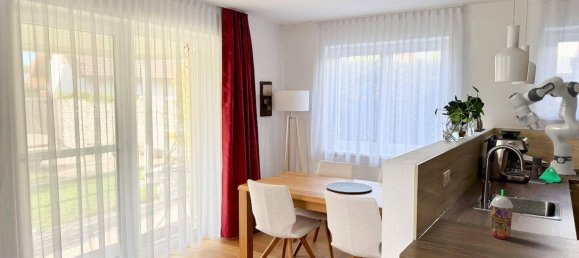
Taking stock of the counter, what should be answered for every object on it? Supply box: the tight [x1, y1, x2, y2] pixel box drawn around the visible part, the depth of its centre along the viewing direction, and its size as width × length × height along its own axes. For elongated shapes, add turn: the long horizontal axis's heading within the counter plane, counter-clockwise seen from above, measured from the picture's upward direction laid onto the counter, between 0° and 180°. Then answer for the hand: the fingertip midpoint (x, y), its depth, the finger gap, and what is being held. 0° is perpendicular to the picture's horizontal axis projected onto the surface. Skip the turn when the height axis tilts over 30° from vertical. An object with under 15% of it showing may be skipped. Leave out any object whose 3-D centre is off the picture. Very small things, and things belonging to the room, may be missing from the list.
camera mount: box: [539, 166, 562, 184], centre depth 273 cm, size 12×8×10 cm, turn 48°
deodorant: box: [531, 156, 543, 178], centre depth 287 cm, size 6×6×15 cm
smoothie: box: [490, 189, 514, 240], centre depth 161 cm, size 8×8×20 cm
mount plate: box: [528, 177, 549, 185], centre depth 270 cm, size 10×10×2 cm
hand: (535, 129), depth 284 cm, fingers open, 8 cm apart
